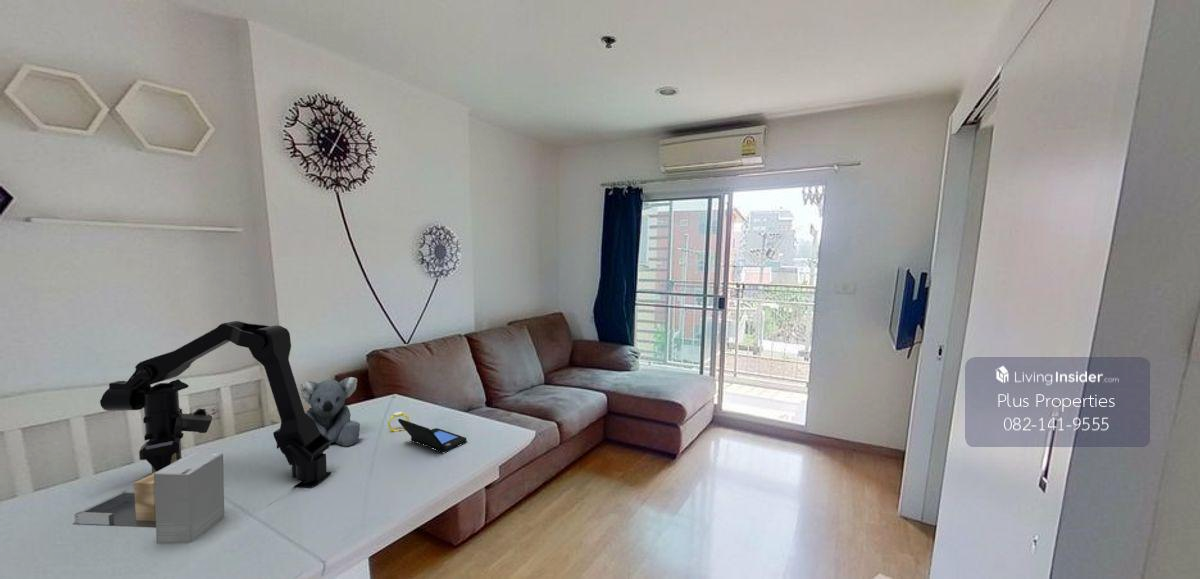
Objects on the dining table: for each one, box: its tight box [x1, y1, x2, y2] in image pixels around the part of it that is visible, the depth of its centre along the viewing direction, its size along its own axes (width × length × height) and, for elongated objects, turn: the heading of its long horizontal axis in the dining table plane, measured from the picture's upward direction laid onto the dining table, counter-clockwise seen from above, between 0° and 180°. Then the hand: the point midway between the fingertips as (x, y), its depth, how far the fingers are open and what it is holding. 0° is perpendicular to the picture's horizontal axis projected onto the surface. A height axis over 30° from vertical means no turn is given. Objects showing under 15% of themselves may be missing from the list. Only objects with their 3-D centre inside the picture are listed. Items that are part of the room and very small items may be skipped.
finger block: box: [151, 447, 182, 475], centre depth 99 cm, size 5×5×8 cm
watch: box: [388, 411, 410, 432], centre depth 133 cm, size 6×3×6 cm, turn 113°
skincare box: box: [153, 451, 225, 545], centre depth 81 cm, size 8×7×16 cm
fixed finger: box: [133, 473, 156, 521], centre depth 86 cm, size 5×5×8 cm
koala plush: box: [299, 376, 361, 447], centre depth 126 cm, size 17×18×20 cm
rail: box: [72, 490, 156, 529], centre depth 87 cm, size 18×9×4 cm, turn 88°
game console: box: [397, 418, 467, 453], centre depth 124 cm, size 16×14×9 cm
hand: (166, 471), depth 99 cm, fingers closed on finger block, 5 cm apart
